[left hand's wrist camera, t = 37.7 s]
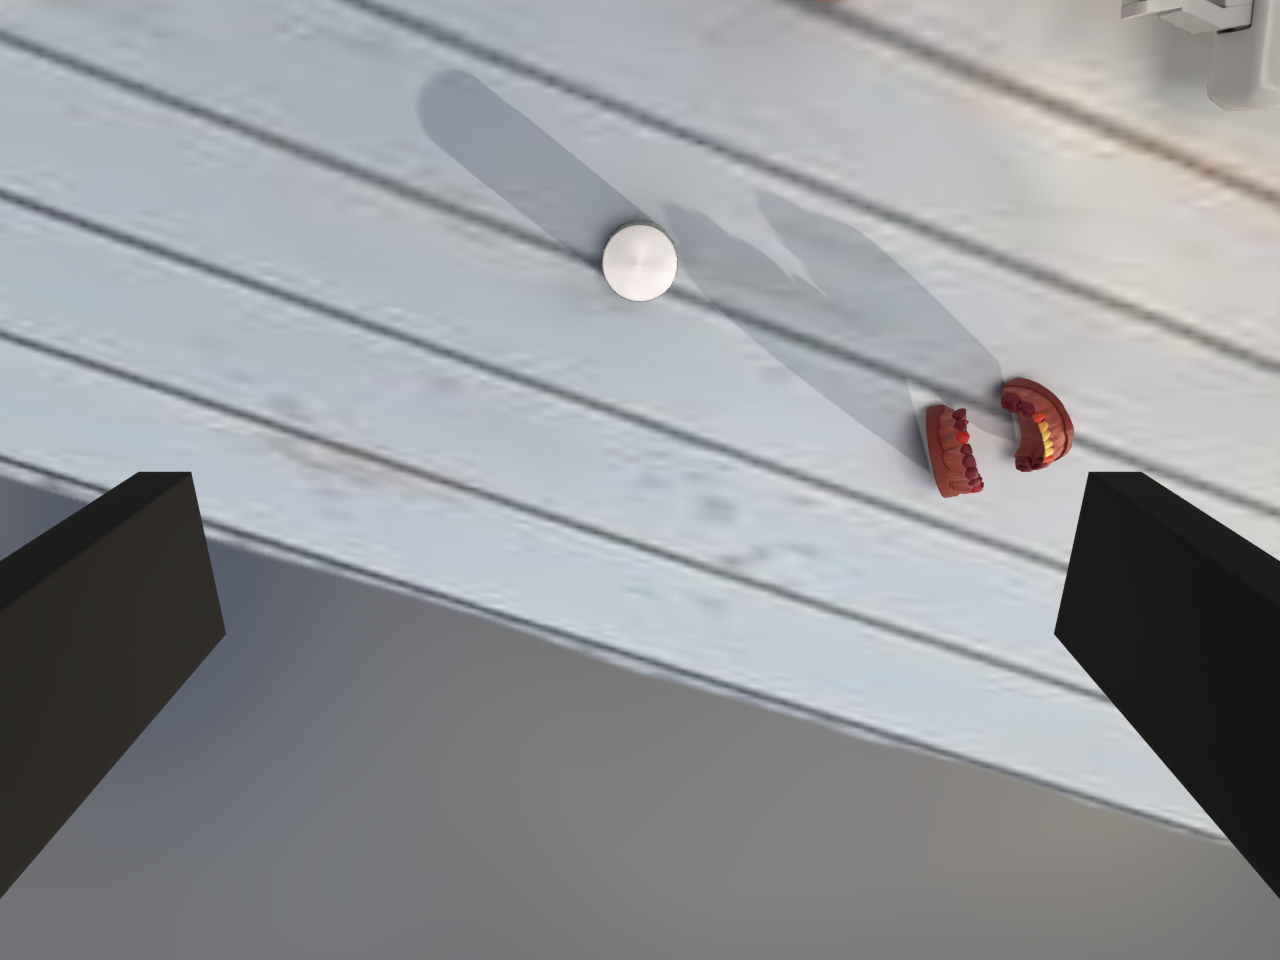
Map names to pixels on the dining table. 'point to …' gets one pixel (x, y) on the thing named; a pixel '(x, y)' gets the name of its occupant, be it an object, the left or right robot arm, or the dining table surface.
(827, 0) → the bottle
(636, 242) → the cap
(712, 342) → the dining table surface
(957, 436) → the dental model
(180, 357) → the dining table surface
